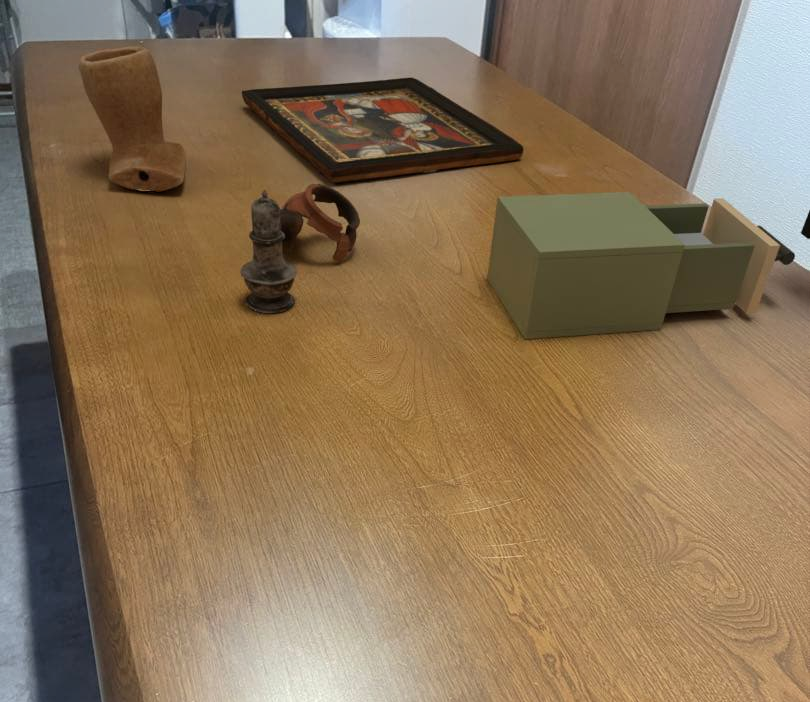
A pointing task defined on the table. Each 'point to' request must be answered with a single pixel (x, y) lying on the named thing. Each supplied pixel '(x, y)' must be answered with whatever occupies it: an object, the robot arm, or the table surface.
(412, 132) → the framed icon painting
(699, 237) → the block
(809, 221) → the robot arm
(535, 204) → the cabinet
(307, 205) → the broken clay pot
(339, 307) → the table surface
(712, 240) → the drawer
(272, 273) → the salt shaker
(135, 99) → the clay pipe bowl
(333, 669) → the table surface
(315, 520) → the table surface
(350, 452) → the table surface
